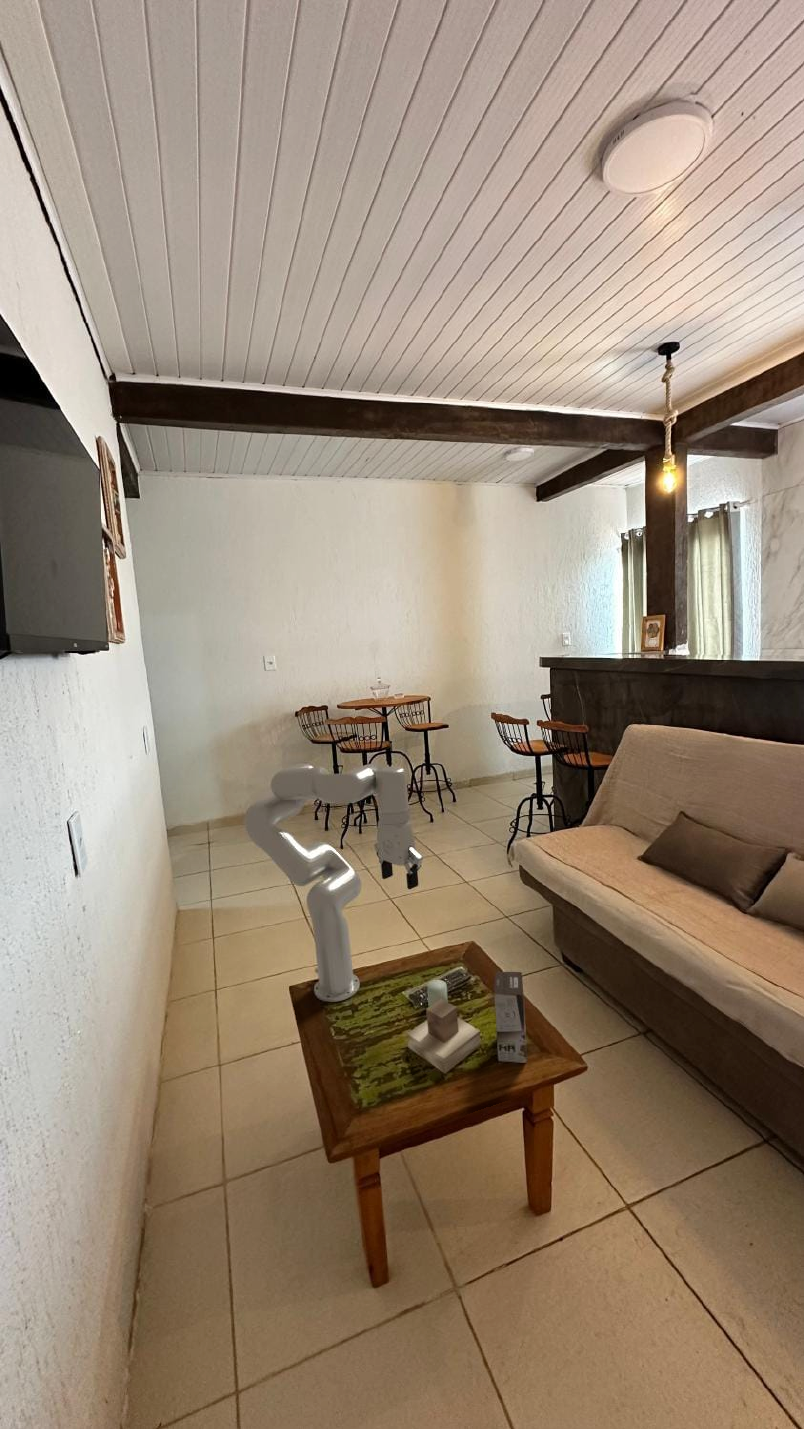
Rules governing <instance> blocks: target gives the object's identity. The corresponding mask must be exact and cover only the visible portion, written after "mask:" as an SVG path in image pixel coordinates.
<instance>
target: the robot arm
mask: <svg viewBox="0 0 804 1429" xmlns="http://www.w3.org/2000/svg"><path fill="white" fill-rule="evenodd" d="M407 783H408V782H407V773H406V770H405V769H404V768H403V767H402V766H401V767H400V766H394V765H393V766H383V765H379V764H376V763H375V764H374V763H368V764H365V765H362V766H359V767H357V768H354V769H351V770H350V771H348V772H343V773H329V771H328V769H326V768H325V767H323V766H316V767H315V766H313V765H311V764H308V763H299V764H295V765H292V766H289V767H286V768H284V769H281V770H280V771H278V772H276V773H275V774H274V776H273V777H272V778H271V780H270V790H271V791H272V793H273V794H271V795H269V796H265V797H262V798H261V799H258V800H257V801H254V802H253V803H252V804H250V805H249V806H248V807H247V809H246V811H245V813H244V819H243V821H244V827H245V832H246V833H247V835H248V837H249V839H251V841H252V842H253V843H254V844H255V845H256V846H257V847H259V849H261V850H262V851H263V852H264V853H266V855H267V856H268V857H269V858H270V859H271V860H272V861H273V863H275V864H276V866H277V867H278V868H279V869H280V870H281V871H282V872H283V873H284V875H285V876H286V877H287V878H288V879H289V880H290V882H292V883H293V884H294V885H295V886H297V887H305V886H307V885H309V884H311V883H313V882H314V881H316V880H317V879H319V878H321V877H322V878H323V879H321V880H319V881H318V882H316V883H315V884H314V885H312V887H311V888H310V889H309V890H308V893H307V895H306V907H307V909H308V912H309V916H310V919H311V924H312V931H313V938H314V947H315V955H316V956H315V957H316V966H317V967H315V969H314V973H316V974H317V976H318V980H319V981H318V980H317V981H318V982H317V981H316V983H315V985H314V988H313V990H314V991H313V992H314V995H315V996H316V998H318V999H319V1000H321V1001H323V1002H327V1003H336V1002H340V1001H345V1000H347V999H349V998H351V997H353V996H354V995H355V994H356V993H357V992H358V991H359V989H360V979H359V977H358V976H357V975H356V974H354V971H353V962H352V953H351V951H352V950H351V940H350V931H349V924H348V922H347V919H346V918H345V916H344V915H343V912H342V910H343V909H344V908H345V907H346V906H347V905H348V904H350V903H351V902H352V901H353V900H354V899H356V898H357V897H358V896H359V895H360V893H361V891H362V881H361V878H360V877H359V875H358V873H357V872H356V870H355V869H354V868H353V867H352V866H351V865H350V864H349V863H348V861H346V859H344V857H343V856H342V855H341V854H340V853H339V852H338V850H336V849H335V848H334V847H333V845H330V844H329V843H327V842H324V841H315V842H312V843H310V844H308V845H306V846H304V845H303V844H302V843H300V842H299V841H298V839H296V837H295V836H294V835H293V834H292V833H291V832H288V831H286V830H284V829H282V828H279V827H278V826H277V825H279V824H282V823H284V822H286V821H288V820H289V819H290V820H291V819H292V818H294V817H296V816H297V815H299V813H300V812H301V811H302V809H303V808H304V806H305V805H306V804H307V802H308V801H309V800H320V802H323V803H325V804H351V803H356V802H359V801H361V800H363V799H365V798H367V797H369V796H372V795H375V794H377V805H378V806H377V808H378V817H379V819H378V822H377V831H376V833H377V834H376V840H377V841H376V842H375V843H373V844H374V845H373V847H374V849H375V852H376V856H377V857H378V859H379V860H378V863H379V864H380V867H381V868H380V869H381V879H383V880H386V879H389V878H391V877H392V876H394V873H393V871H394V870H393V865H394V866H395V865H396V866H399V867H404V868H405V870H406V872H407V873H406V887H407V889H408V890H412V889H414V888H416V887H418V886H419V875H418V872H419V871H420V869H421V868H422V863H423V860H424V858H423V856H422V855H421V854H420V853H419V852H418V851H416V850H417V849H416V842H415V837H414V831H413V828H412V824H411V822H410V820H411V819H410V806H409V797H408V794H409V793H408V784H407ZM410 864H411V866H410Z"/></svg>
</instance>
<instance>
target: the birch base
mask: <svg viewBox="0 0 804 1429" xmlns="http://www.w3.org/2000/svg"><path fill="white" fill-rule="evenodd" d="M458 1029H459V1031H458V1032H457V1033H456V1034H455V1035H453V1036H452V1037H451V1038H450V1039H448V1040H447V1041H446V1042H442V1041H440V1040H439V1039H437V1038H435V1037H434V1036H432V1035H431V1034H429V1033H428V1024H427V1019H425V1021H423V1022H422V1023H420V1024H419V1025H417V1026H416V1027H414V1028H413V1029H411V1030H410V1031H409V1032H407V1033H406V1035H407V1036H406V1037H407V1046H408V1048H409V1049H410V1050H411V1051H412V1052H414V1053H416V1054H417V1055H418V1056H420V1057H421V1058H423V1059H424V1060H425V1061H426V1062H428V1063H429V1064H431V1065H432V1066H434V1067H435V1068H436V1069H438V1070H439V1071H441V1072H442V1073H444V1074H445V1075H446V1074H447V1073H448V1072H449V1071H450V1070H452V1069H453V1068H454V1067H455V1066H457V1065H458V1064H460V1062H462V1061H463V1060H465V1058H467V1057H469V1055H471V1054H472V1053H473V1052H474V1051H476V1049H478V1048H479V1047H481V1046H482V1041H481V1040H482V1039H481V1030H480V1029H478V1028H476V1027H474V1026H473V1025H471V1024H469V1023H468V1022H466V1021H465V1020H463V1019H461V1018H459V1017H458Z"/></svg>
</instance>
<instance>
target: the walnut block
mask: <svg viewBox="0 0 804 1429" xmlns="http://www.w3.org/2000/svg"><path fill="white" fill-rule="evenodd" d="M425 1011H426V1020H427V1024H428V1033H429V1034H431V1035H432V1036H434V1037H435V1038H437V1039H439V1040H440V1041H442V1042H446V1041H447V1040H448V1039H450V1038H451V1037H452V1036H453V1035H455V1034H456V1033H457V1032H458V1031H459V1029H458V1018H459V1017H458V1007H457V1006H455V1005H453V1004H451V1003H450V1002H446V1001H444V1000H442V999H440V1000H438V1001H437V1002H435V1003H434V1004H433V1005H431V1006H430V1007H429V1006H428V1007H427V1008H426V1010H425Z"/></svg>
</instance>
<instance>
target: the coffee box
mask: <svg viewBox="0 0 804 1429" xmlns="http://www.w3.org/2000/svg"><path fill="white" fill-rule="evenodd" d="M523 983H524V981H523V972H522V971H495V972H494V983H493V984H494V985H493V997H494V1011H495V1027H496V1030H495V1031H496V1042H497V1059H498V1062H506V1063H507V1062H510V1063H521V1064H525V1063H527V1032H526V1031H527V1029H526V1011H525V997H524V995H525V994H524V984H523Z"/></svg>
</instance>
